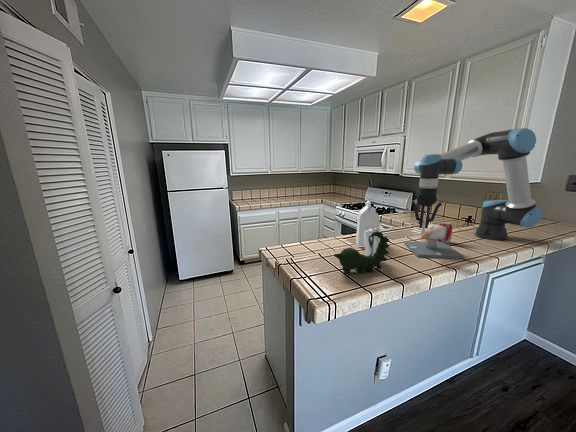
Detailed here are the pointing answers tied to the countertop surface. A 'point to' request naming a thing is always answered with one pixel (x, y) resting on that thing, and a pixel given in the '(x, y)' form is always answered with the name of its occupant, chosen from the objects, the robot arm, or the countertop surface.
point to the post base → (432, 249)
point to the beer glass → (370, 241)
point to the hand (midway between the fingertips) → (422, 234)
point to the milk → (366, 222)
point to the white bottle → (434, 232)
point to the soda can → (446, 232)
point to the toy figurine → (356, 260)
